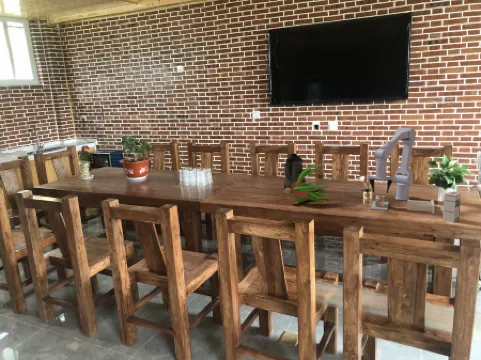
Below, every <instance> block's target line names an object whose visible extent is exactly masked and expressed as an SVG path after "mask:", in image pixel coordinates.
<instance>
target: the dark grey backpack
mask: <svg viewBox="0 0 481 360" xmlns="http://www.w3.org/2000/svg"><path fill="white" fill-rule="evenodd" d="M303 161H304V159H303V158H302V157H300V156H299V155H298V154H297V153H290V155H289V156H288V157H287V158H286V159H285V164H284V166H283V171H284V175H285V176H284V181H283V185H282V186H283V189H284V190H285V189H286V188H290V189H291V186H293V185H294V184H295V183H296V182H297V180H298V177H299V175H300V173H301V172H302V171H303V170H304V168H303ZM293 181H294V182H293ZM306 182H307V181H306V176H305V177H304V178H303V179H302V181H301V183H300V184H301V185H304V184H307V183H306ZM292 183H293V185H292ZM303 183H304V184H303Z"/></svg>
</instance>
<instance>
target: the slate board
mask: <svg viewBox="0 0 481 360" xmlns="http://www.w3.org/2000/svg"><path fill="white" fill-rule="evenodd" d="M375 202H376V200H373V201H372V202H371V206H370V210H374V211H375V210H377V211H388V208H389V203H390V202H389V201H384V207H375Z"/></svg>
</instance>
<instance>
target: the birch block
mask: <svg viewBox="0 0 481 360" xmlns="http://www.w3.org/2000/svg"><path fill="white" fill-rule="evenodd" d="M375 201H376V202H375V207H384V202H385V195H375Z"/></svg>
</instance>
